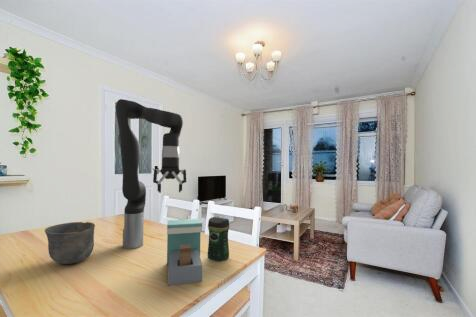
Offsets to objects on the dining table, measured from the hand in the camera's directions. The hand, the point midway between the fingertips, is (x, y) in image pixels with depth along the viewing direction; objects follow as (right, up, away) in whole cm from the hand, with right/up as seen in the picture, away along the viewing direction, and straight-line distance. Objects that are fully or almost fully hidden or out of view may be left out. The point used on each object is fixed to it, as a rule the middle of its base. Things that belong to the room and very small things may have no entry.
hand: (169, 192), depth 103 cm
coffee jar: (+22, -31, +2) cm, 38 cm away
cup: (-42, -30, -4) cm, 51 cm away
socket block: (+10, -30, -13) cm, 34 cm away
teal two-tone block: (+8, -30, -6) cm, 32 cm away
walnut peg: (+11, -30, -17) cm, 36 cm away
